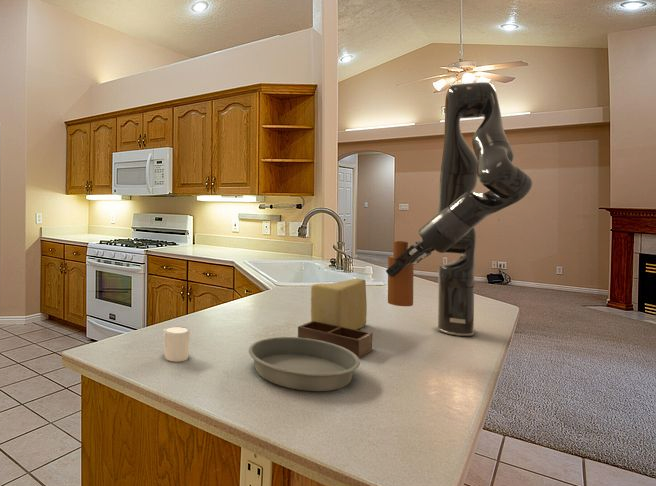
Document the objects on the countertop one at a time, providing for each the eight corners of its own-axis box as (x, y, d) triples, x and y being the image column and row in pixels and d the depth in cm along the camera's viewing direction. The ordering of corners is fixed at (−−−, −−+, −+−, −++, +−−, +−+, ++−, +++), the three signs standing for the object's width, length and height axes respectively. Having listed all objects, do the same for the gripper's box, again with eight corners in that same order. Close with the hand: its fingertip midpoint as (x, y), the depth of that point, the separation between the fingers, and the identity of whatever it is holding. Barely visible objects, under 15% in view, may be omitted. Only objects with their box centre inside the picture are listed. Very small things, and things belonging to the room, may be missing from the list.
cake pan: (299, 404, 87) (299, 381, 87) (228, 363, 109) (228, 344, 109) (384, 382, 98) (384, 361, 98) (304, 348, 120) (304, 331, 120)
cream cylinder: (194, 355, 114) (194, 327, 114) (183, 364, 108) (183, 335, 108) (170, 351, 117) (170, 324, 117) (158, 359, 111) (158, 331, 111)
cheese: (350, 321, 148) (350, 275, 148) (378, 328, 140) (379, 280, 140) (309, 332, 134) (309, 283, 134) (338, 341, 127) (339, 288, 127)
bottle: (392, 300, 119) (392, 240, 119) (416, 303, 115) (416, 241, 115) (384, 303, 115) (384, 241, 115) (408, 307, 111) (409, 243, 111)
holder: (313, 336, 131) (313, 320, 131) (372, 350, 119) (372, 333, 119) (297, 343, 125) (297, 326, 125) (358, 358, 113) (358, 340, 113)
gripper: (441, 217, 115) (392, 259, 123) (424, 218, 105) (372, 264, 113) (465, 239, 111) (412, 280, 120) (450, 243, 101) (394, 288, 109)
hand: (393, 272), depth 116 cm, fingers closed on bottle, 6 cm apart
